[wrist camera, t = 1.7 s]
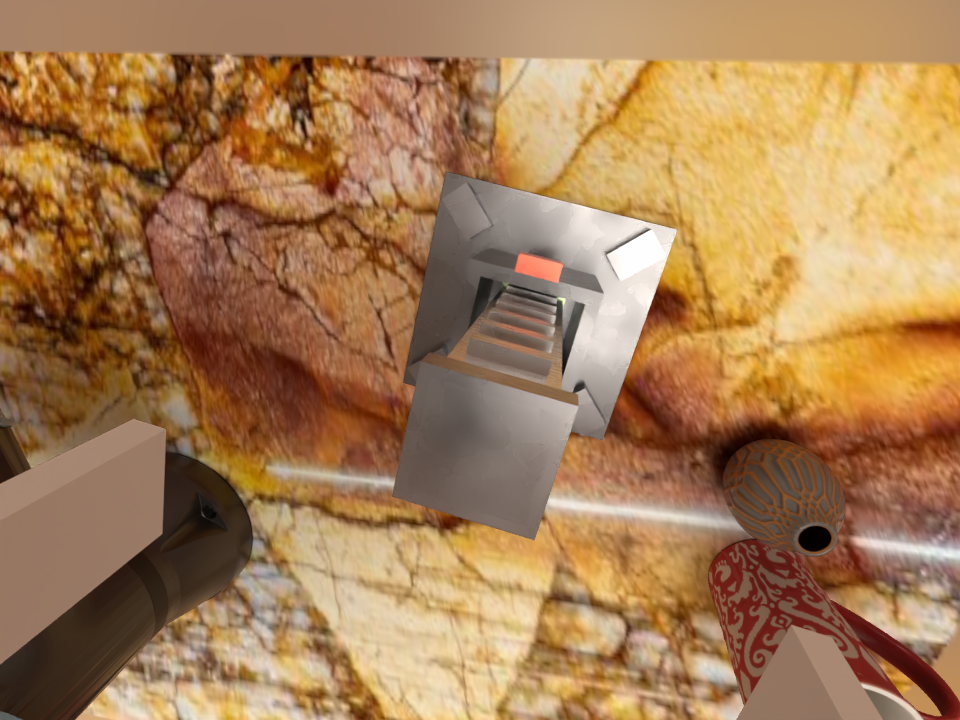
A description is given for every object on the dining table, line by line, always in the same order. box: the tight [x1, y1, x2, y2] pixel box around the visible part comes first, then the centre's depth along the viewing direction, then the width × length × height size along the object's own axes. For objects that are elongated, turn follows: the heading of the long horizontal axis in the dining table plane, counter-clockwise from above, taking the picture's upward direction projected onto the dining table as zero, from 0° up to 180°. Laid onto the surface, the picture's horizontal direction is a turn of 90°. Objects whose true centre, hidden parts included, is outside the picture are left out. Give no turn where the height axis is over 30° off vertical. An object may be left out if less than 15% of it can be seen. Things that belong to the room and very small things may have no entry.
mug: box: [708, 540, 960, 720], centre depth 34 cm, size 13×9×14 cm
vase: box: [723, 439, 846, 557], centre depth 34 cm, size 7×7×9 cm
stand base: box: [403, 172, 677, 440], centre depth 33 cm, size 16×16×10 cm
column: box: [392, 282, 579, 540], centre depth 26 cm, size 5×5×22 cm
